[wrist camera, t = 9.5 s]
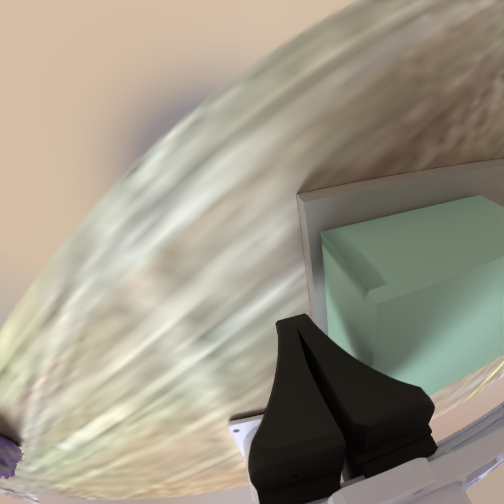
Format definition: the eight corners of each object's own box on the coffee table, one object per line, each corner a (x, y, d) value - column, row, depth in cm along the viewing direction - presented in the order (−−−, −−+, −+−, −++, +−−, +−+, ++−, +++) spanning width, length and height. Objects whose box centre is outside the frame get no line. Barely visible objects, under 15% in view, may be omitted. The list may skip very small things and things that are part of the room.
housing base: (522, 290, 22) (547, 312, 18) (316, 377, 21) (333, 420, 17) (547, 153, 16) (582, 168, 12) (296, 194, 15) (325, 225, 11)
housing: (464, 297, 18) (512, 347, 13) (328, 347, 17) (364, 422, 13) (479, 194, 14) (549, 234, 10) (320, 232, 14) (377, 303, 9)
